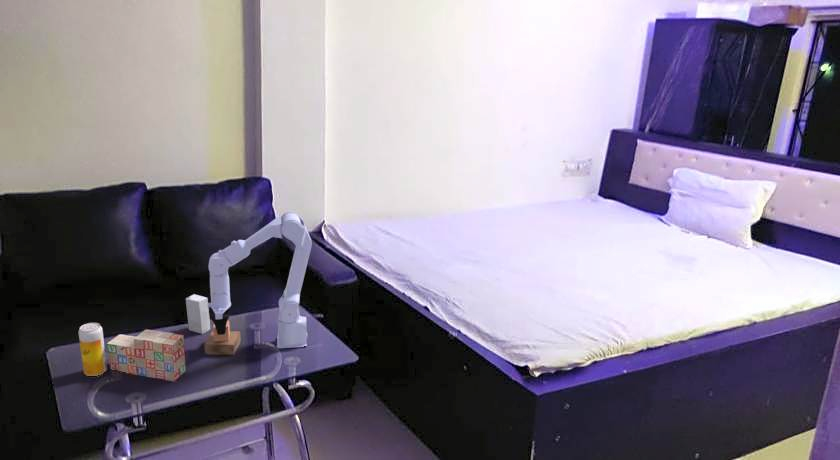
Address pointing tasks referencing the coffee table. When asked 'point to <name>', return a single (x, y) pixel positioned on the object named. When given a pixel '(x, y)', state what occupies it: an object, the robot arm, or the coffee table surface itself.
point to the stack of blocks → (149, 354)
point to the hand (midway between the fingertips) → (222, 329)
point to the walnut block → (223, 344)
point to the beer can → (92, 349)
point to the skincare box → (198, 314)
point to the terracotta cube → (224, 336)
